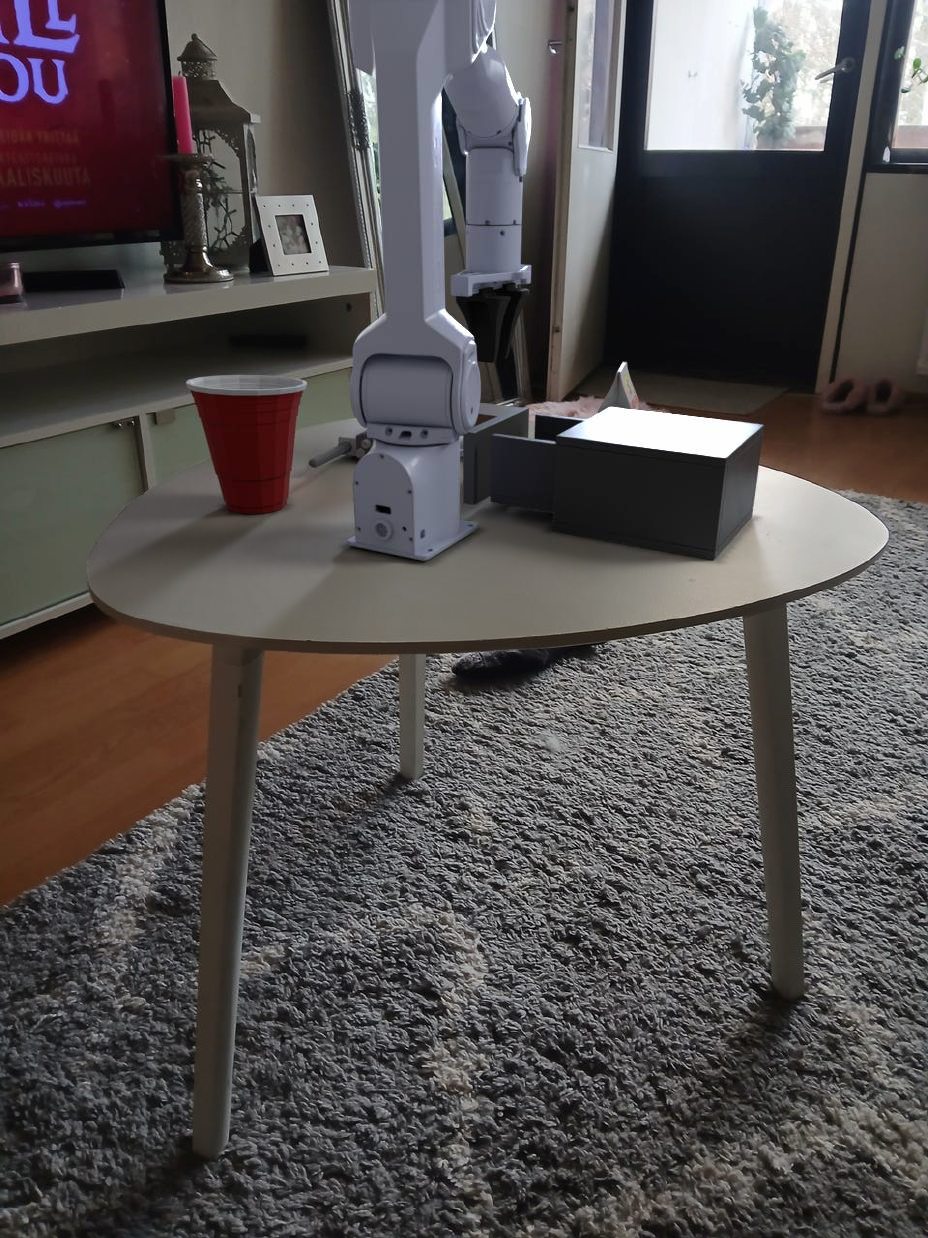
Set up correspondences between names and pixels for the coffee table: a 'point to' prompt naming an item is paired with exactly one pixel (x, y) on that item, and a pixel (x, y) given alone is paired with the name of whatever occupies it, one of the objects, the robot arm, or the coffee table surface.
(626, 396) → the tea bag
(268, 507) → the plastic cup
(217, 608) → the coffee table surface
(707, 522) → the cabinet
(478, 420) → the block
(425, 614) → the coffee table surface
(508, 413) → the drawer
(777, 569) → the coffee table surface
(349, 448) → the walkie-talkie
